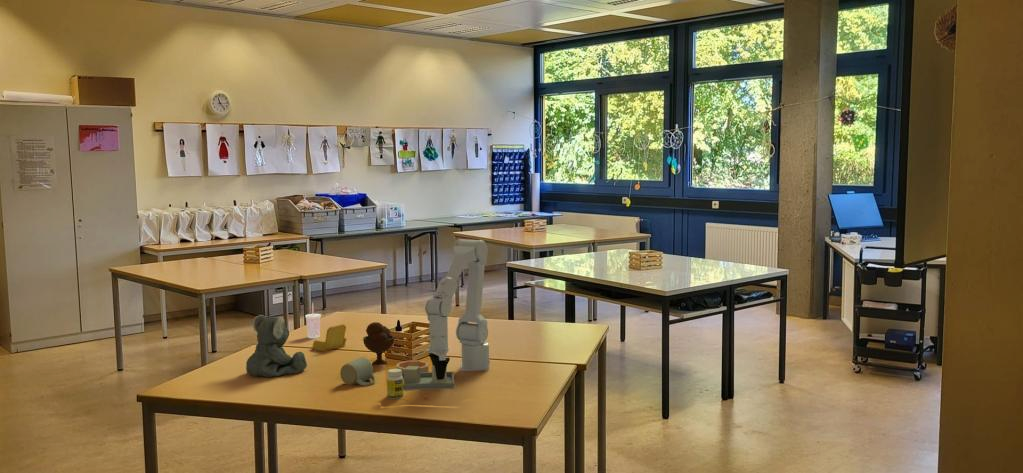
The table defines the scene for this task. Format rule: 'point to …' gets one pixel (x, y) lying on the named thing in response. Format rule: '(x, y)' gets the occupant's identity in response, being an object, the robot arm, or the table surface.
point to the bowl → (423, 365)
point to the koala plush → (273, 350)
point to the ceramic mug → (357, 372)
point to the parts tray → (430, 382)
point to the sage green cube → (436, 377)
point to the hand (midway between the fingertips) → (439, 377)
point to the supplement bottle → (394, 384)
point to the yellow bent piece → (332, 339)
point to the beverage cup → (313, 324)
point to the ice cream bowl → (378, 341)
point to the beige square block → (412, 375)
